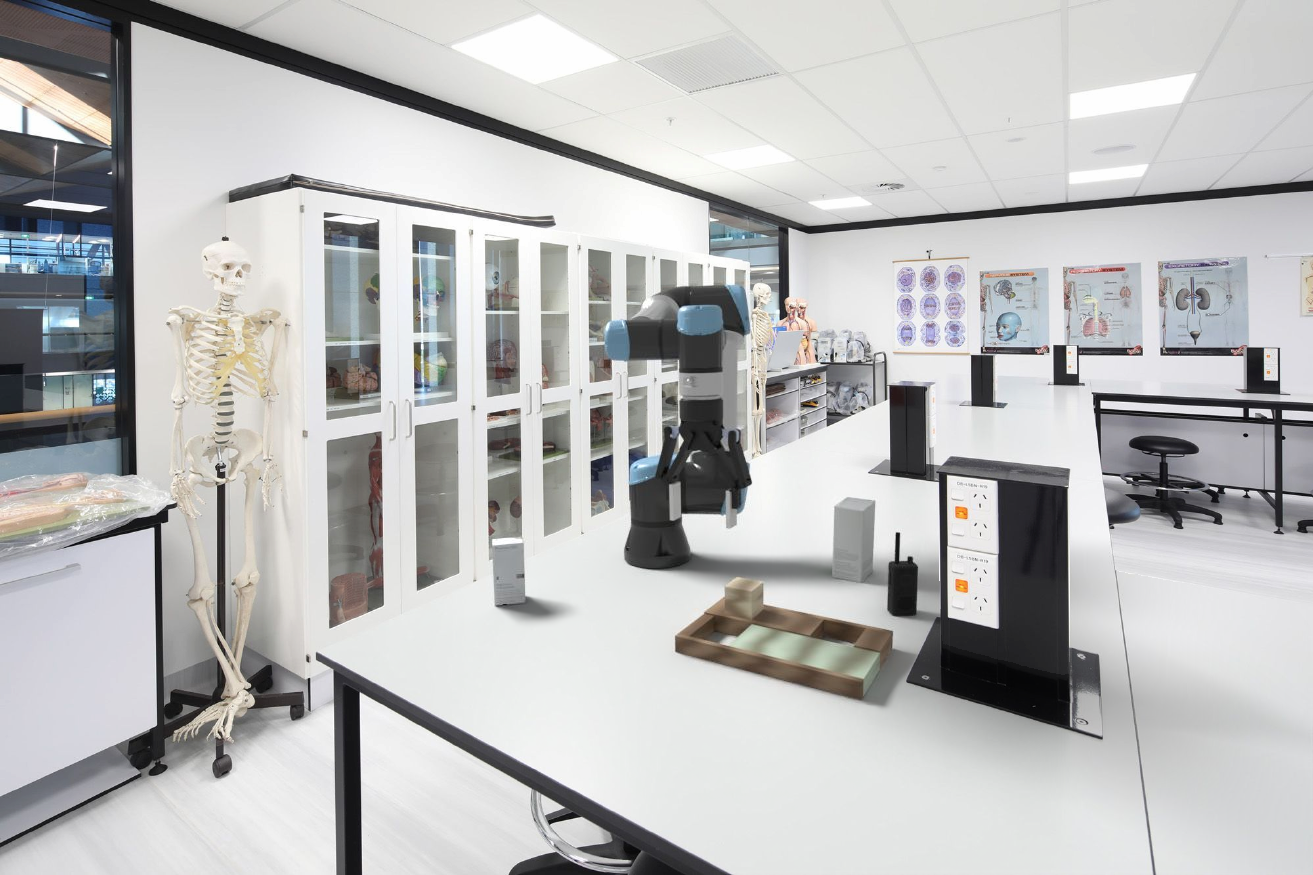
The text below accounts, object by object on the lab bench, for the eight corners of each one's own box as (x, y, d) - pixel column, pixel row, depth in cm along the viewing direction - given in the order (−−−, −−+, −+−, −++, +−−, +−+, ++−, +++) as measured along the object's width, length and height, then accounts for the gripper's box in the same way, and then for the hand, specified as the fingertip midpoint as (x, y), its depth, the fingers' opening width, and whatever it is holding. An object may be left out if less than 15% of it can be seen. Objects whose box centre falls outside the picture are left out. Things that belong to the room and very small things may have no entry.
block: (724, 613, 119) (724, 586, 118) (737, 603, 123) (737, 576, 122) (751, 619, 116) (751, 591, 116) (763, 609, 120) (763, 581, 120)
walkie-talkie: (910, 608, 127) (913, 529, 124) (918, 616, 123) (921, 534, 121) (884, 609, 127) (887, 530, 124) (891, 617, 123) (894, 535, 121)
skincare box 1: (494, 606, 132) (490, 545, 130) (494, 598, 136) (490, 538, 135) (527, 603, 134) (523, 542, 132) (526, 594, 138) (522, 535, 136)
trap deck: (675, 651, 112) (674, 634, 112) (724, 611, 127) (724, 596, 127) (861, 700, 96) (861, 680, 96) (892, 648, 111) (893, 630, 111)
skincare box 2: (844, 566, 150) (846, 496, 147) (875, 571, 146) (877, 499, 143) (831, 578, 143) (832, 504, 140) (862, 584, 139) (864, 509, 137)
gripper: (633, 397, 121) (636, 519, 124) (754, 401, 109) (754, 537, 112) (655, 393, 127) (658, 509, 131) (772, 397, 115) (772, 525, 119)
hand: (702, 522), depth 122 cm, fingers open, 10 cm apart
